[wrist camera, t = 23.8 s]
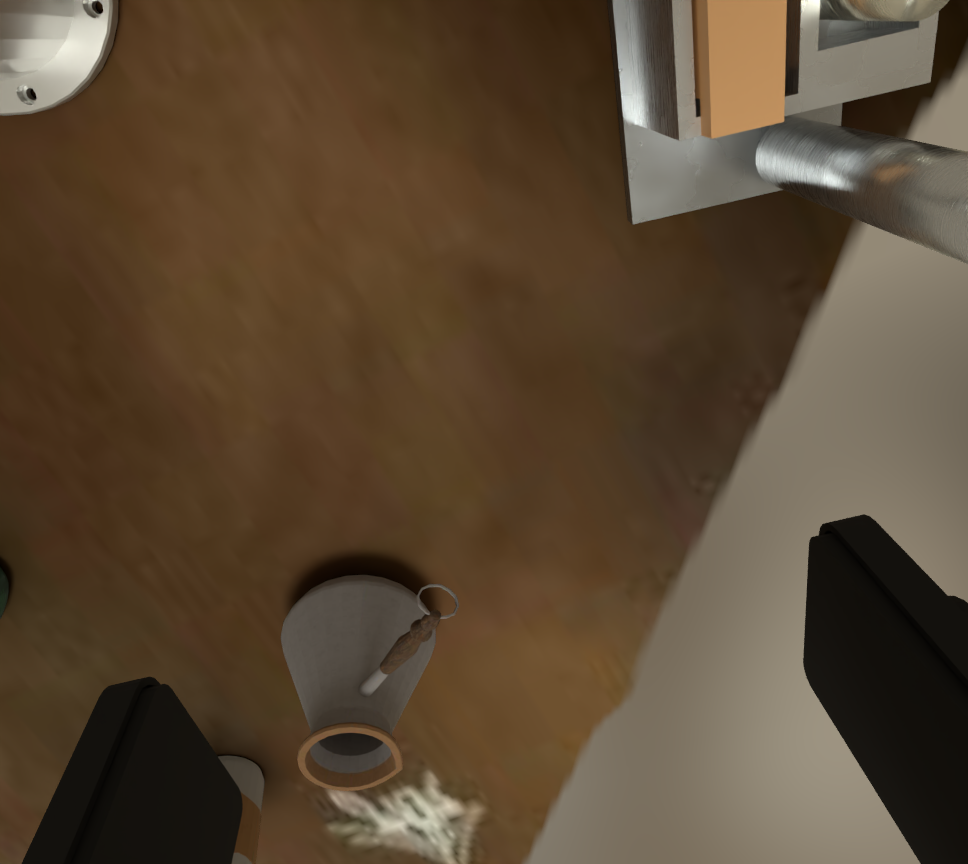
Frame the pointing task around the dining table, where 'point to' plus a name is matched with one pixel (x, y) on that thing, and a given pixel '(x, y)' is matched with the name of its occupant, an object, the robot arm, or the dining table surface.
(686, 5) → the pole on box base
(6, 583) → the coffee jar
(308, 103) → the dining table surface
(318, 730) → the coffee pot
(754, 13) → the tan rectangular block
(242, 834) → the coffee cup
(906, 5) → the pale grey cylinder
